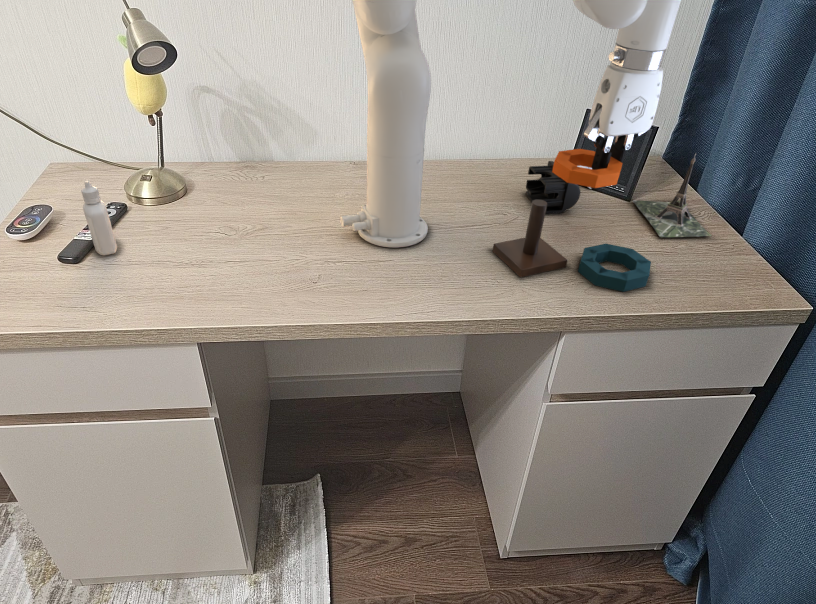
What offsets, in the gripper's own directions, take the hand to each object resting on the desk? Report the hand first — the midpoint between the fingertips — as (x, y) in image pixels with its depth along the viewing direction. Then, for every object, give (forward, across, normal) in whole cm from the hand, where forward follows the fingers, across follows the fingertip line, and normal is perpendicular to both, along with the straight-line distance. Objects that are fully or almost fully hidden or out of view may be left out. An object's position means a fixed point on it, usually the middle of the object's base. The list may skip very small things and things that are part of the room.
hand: (605, 169), depth 107 cm
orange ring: (0, -4, 0) cm, 4 cm away
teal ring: (+12, -6, -14) cm, 19 cm away
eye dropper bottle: (+13, -83, +23) cm, 87 cm away
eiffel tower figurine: (+11, +17, -2) cm, 21 cm away
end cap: (+12, -1, +12) cm, 17 cm away
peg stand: (+12, -17, -5) cm, 21 cm away
